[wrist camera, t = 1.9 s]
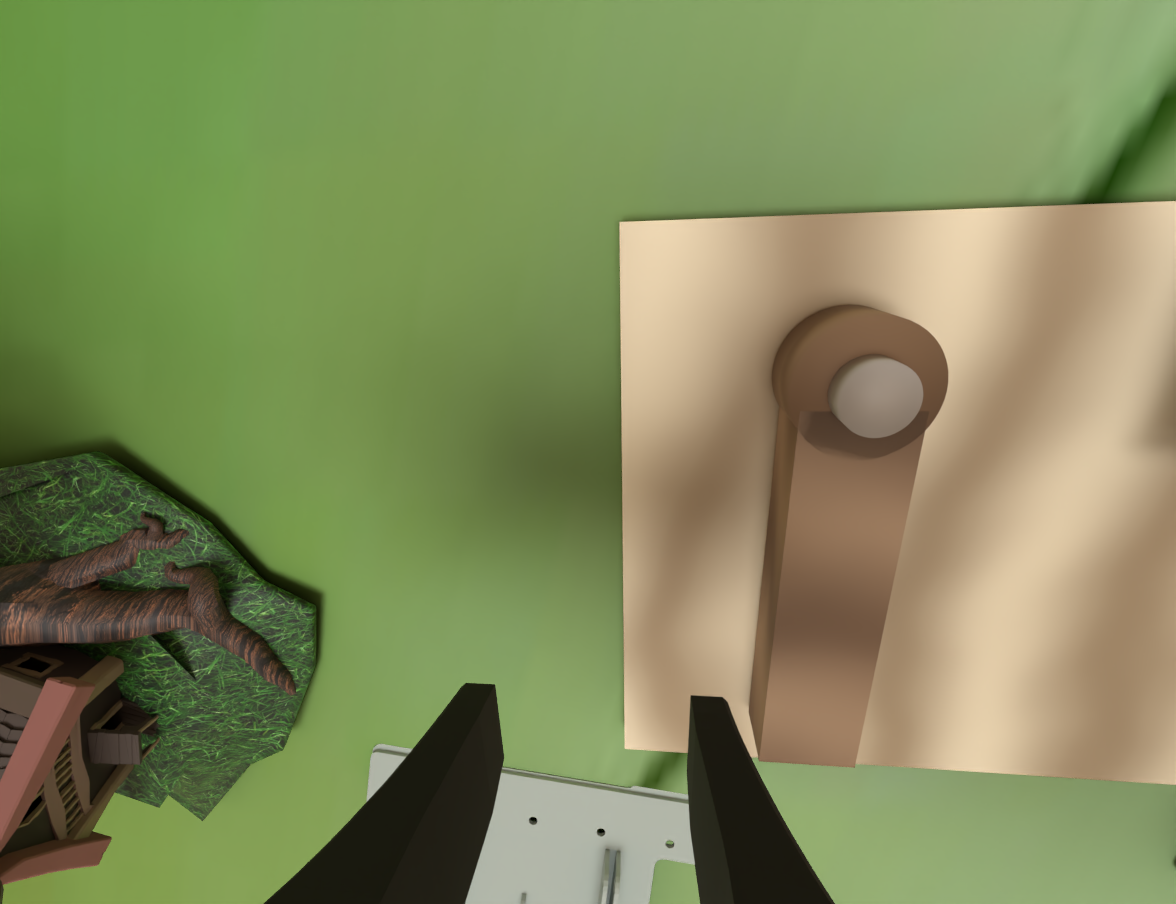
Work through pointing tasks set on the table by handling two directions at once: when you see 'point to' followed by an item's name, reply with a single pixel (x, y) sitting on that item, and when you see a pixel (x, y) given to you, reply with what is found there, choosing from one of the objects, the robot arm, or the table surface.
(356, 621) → the table surface
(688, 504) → the base board
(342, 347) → the table surface
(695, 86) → the table surface
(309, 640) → the bonsai tree
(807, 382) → the latch bar
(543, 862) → the metal bracket
